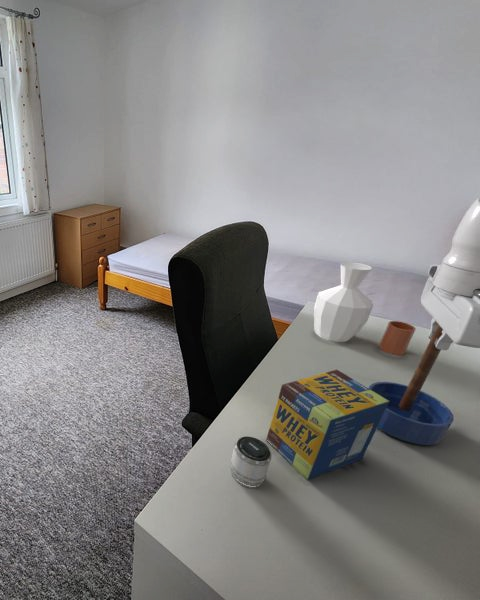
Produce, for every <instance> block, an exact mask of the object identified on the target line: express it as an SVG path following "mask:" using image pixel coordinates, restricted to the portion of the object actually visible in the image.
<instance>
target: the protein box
mask: <svg viewBox="0 0 480 600" xmlns="http://www.w3.org/2000/svg"><path fill="white" fill-rule="evenodd" d="M389 402H390V401H389V400H387V399H385V398H383V397H382V396H380V395H378V394H377V393H375V392H373V391H372V390H370V389H368V386H367V387H366V386H365V385H363V384H362V383H360V382H358V381H357V380H355V379H353V378H352V377H350V376H349V375H347V374H345V373H343V372H342V371H340V370H338V369H333V370H330V371H327V372H323V373H319V374H315V375H311V376H309V377H305V378H301V379H297V380H293V381H291V382H287V383H284V384H283V383H282V384H281V387H280V390H279V393H278V397H277V399H276V404H275V407H274V410H273V415H272V418H271V421H270V425H269V429H268V432H267V436H266V439H265V442H267V443H268V444H269V445H270V446H271V447H272V448H273V449H274V450H275V451H276V452H277V453H279V454H280V456H281V457H282V458H284V460H286V462H288V463H289V464H290V465H291V467H293V468H294V469H295V470H296V471H297V472H299V474H300V475H301V476H302V477H303V478H304V479H305V480H311V479H313V478H316V477H319V476H321V475H324V474H326V473H329V472H332V471H334V470H337V469H339V468H343V467H346V466H348V465H350V464H353V463H355V462H358V461H361V460H363V459H364V456H365V454H366V452H367V449H368V447H369V446H370V444H371V442H372V439H373V437H374V435H375V433H376V431H377V429H378V428H377V427H378V425H379V422H380V420H381V418H382V416H383V414H384V412H385V410H386V408H387V406H388V404H389ZM267 440H268V441H269V442H270V443H271V444H272V445H271V444H270V443H269V442H268V441H267ZM273 446H274V447H273Z"/></svg>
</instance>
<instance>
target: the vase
mask: <svg viewBox="0 0 480 600" xmlns="http://www.w3.org/2000/svg"><path fill="white" fill-rule="evenodd" d="M372 269H373V268H372V266H370V265H368V264H365V263H361V262H355V261H342V262H340V284H339V285H336V286H334V287H330V288H327V289H325V290H322V291H318V293H317V296H316V300H315V303H314V306H313V312H314V313H313V321H314V322H313V323H314V324H313V330H314V333H315V334H316V335H317V336H318V337H320V338H322V339H323V340H326V341H328V342H329V341H330V342H335V343H346V342H348V341H350V340H351V339H352V338H353V337H355V336H356V335H357V334H358V333H359V332H360V331H361V330H362V328H363V327H364V326H365V325H366V324H367V322H368V320H369V318H370V314H371V312H372V310H373V308H374V305H373V302H372V300H371V299H370V298H369V297H368V296H367V295H365V294H364V293H363V292H362V291H361V290H360V289H358V287H359V286H360V285H361V284H362V282H363V280H365V279H366V277H367V276H368V275H369V273H370V272H371V271H372Z"/></svg>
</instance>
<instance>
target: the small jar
mask: <svg viewBox="0 0 480 600" xmlns="http://www.w3.org/2000/svg"><path fill="white" fill-rule="evenodd" d="M271 461H272V451H271V450H270V448H269V447H268V445H267V444H266V443H264V442H263V441H262V440H260V439H258V438H256V437H253V436H240V437H239V438H237V439H236V441H235V442H234V445H233V451H232V455H231V459H230V475H231V476H232V477H233V479H234V481H235V482H237V483H238V484H239V485H241V486H243V487H245V488H248V489H255V488H256V489H257V488H258V487H260V486H261V485H262V484H263V483H264V481H265V479H266V477H267V473H268V470H269V466H270V463H271ZM232 474H233V475H234V476H235V478H236V479H238V480H239V481H240V482H242V483H244V484H246V485H250V486H256V487H249V486H246V485H243V484H241V483H240V482H239V481H237V480H236V479H235V478H234V476H233V475H232ZM258 485H259V486H258Z"/></svg>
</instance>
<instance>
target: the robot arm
mask: <svg viewBox="0 0 480 600" xmlns="http://www.w3.org/2000/svg"><path fill="white" fill-rule="evenodd" d="M427 274H428V276H429V277H428V278H427V280H426V282H425V284H424V288H423V290H422V293H421V296H420V305H421V307H423V309H424V310H425V311H426V312H427V313H428V314H429V315H430V316H431V317H432V319H431V320H430V331H429V333H428V335H427V337H428V339H429V340H431V338H432V336H433V334H434V332H435V330H436V328H437V326H438V324H439V325H440V327H441V328H442V329H443V331H442V335H441V337H440V338H436V340H435V342H434V345H435V347H436V348H437V349H441V351H448V350H449V349H450V347H451V345H452V344H453V343H454V344H455V345H457V346H462V347H468V348H473V349H480V196H479V197H478V198H476V199H475V200H474V201H473V202H472V203H471V204H470V206H469V207H468V208H467V210H466V212H465V213H464V215H463V217H462V218H461V221H460V222H459V224H458V226H457V228H456V230H455V232H454V235H453V237H452V240H451V248H450V251H449V252H448V253H447V254H446V255H445V256H444V257H443V259H442V261H441V264H431V265H430V267H429V269H428V271H427Z"/></svg>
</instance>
